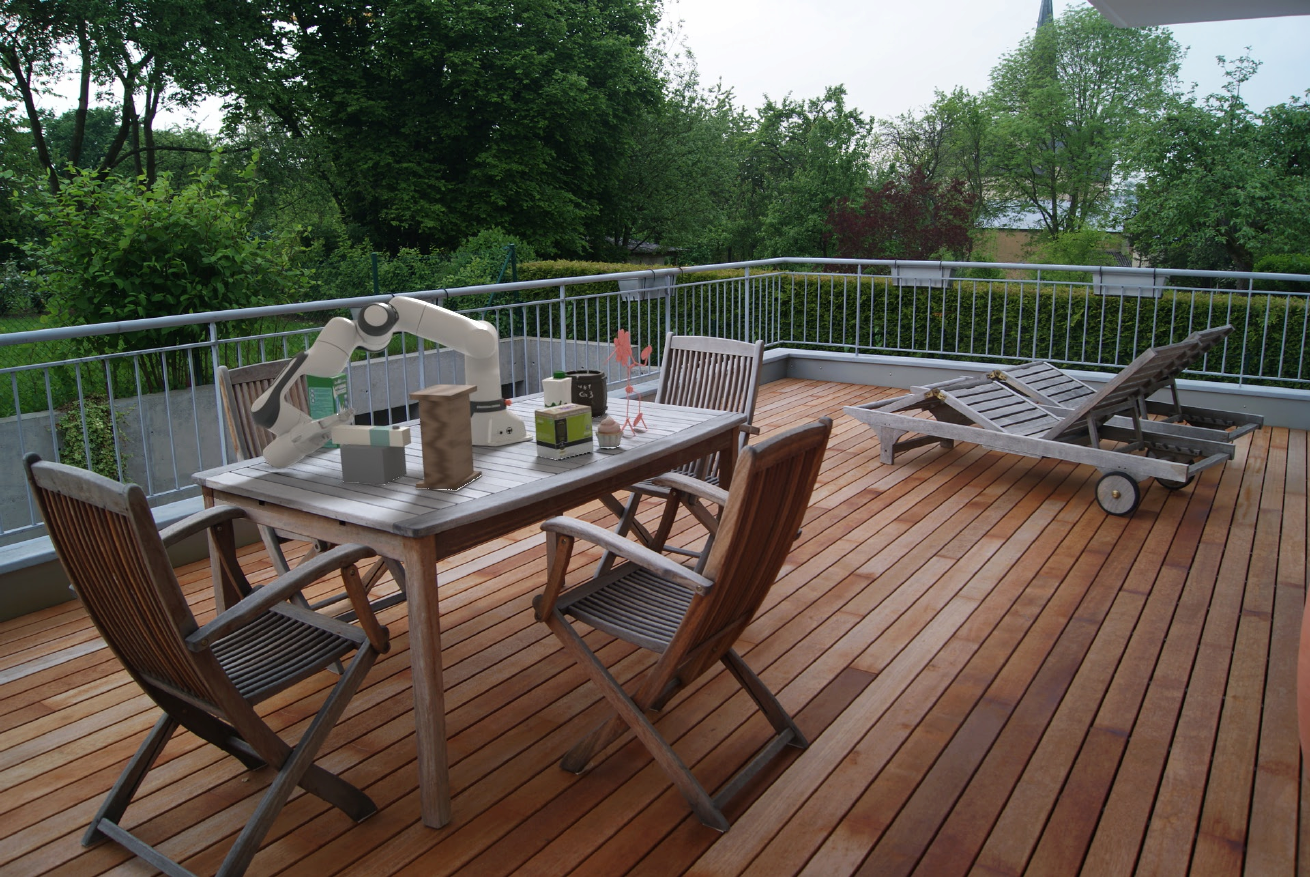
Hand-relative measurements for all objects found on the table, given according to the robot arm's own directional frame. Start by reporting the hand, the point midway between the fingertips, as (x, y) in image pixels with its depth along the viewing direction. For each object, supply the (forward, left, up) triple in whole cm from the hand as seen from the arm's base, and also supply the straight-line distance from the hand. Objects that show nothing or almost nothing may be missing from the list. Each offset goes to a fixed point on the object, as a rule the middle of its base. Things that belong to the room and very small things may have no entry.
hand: (345, 413), depth 266 cm
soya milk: (-76, -23, -19) cm, 81 cm away
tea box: (-63, +10, -19) cm, 66 cm away
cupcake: (-79, +9, -19) cm, 81 cm away
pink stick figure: (-94, -9, -19) cm, 96 cm away
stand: (-22, +22, -18) cm, 36 cm away
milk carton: (-5, -45, -19) cm, 49 cm away
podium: (-5, +5, -18) cm, 20 cm away
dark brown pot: (-96, -44, -19) cm, 107 cm away
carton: (-5, +5, -8) cm, 11 cm away
